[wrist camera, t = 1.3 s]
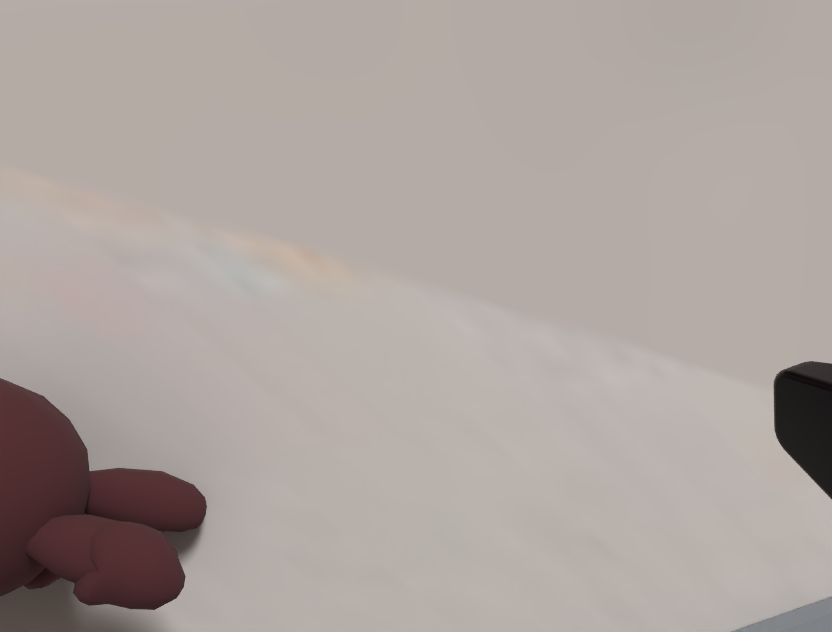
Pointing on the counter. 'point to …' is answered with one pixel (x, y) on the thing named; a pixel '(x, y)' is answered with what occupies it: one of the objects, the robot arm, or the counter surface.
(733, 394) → the counter surface
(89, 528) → the maroon bulbous piece
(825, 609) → the board
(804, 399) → the robot arm
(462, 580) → the counter surface
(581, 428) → the counter surface
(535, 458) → the counter surface
